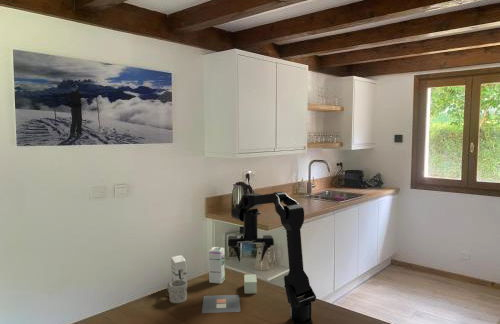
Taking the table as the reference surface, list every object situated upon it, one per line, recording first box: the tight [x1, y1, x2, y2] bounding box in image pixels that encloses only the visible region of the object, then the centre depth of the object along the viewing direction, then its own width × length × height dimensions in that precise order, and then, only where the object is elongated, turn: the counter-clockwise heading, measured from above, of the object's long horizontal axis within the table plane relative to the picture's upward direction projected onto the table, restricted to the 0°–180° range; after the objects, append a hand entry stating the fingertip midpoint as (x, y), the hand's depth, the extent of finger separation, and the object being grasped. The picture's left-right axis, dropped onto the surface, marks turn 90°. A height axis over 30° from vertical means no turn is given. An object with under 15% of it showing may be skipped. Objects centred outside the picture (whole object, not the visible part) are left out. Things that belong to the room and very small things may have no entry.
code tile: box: [201, 294, 241, 314], centre depth 139 cm, size 14×14×1 cm
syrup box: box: [208, 246, 226, 284], centre depth 160 cm, size 6×6×14 cm
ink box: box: [170, 255, 188, 283], centre depth 155 cm, size 9×5×12 cm, turn 25°
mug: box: [167, 280, 188, 304], centre depth 143 cm, size 10×7×7 cm
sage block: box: [243, 273, 258, 294], centre depth 151 cm, size 5×8×5 cm, turn 2°
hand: (250, 260), depth 151 cm, fingers open, 9 cm apart
